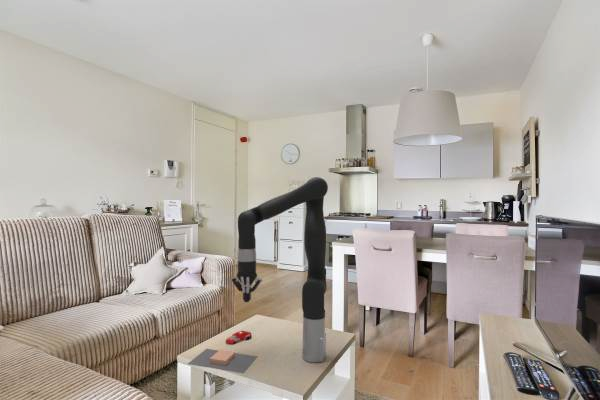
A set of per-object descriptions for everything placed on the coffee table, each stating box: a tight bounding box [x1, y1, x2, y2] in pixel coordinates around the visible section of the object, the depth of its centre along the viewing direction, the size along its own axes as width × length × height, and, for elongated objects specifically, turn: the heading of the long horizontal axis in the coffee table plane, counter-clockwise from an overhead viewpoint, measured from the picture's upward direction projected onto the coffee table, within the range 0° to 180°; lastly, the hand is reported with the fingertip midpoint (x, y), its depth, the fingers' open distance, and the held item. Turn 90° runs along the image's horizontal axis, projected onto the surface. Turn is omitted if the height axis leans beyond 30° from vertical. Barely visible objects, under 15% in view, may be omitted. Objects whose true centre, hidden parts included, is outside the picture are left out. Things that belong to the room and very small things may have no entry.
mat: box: [187, 348, 259, 374], centre depth 132 cm, size 24×14×1 cm, turn 75°
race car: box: [225, 330, 253, 346], centre depth 152 cm, size 13×5×4 cm, turn 137°
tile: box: [210, 349, 236, 366], centre depth 132 cm, size 2×8×7 cm
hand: (246, 301), depth 134 cm, fingers closed
